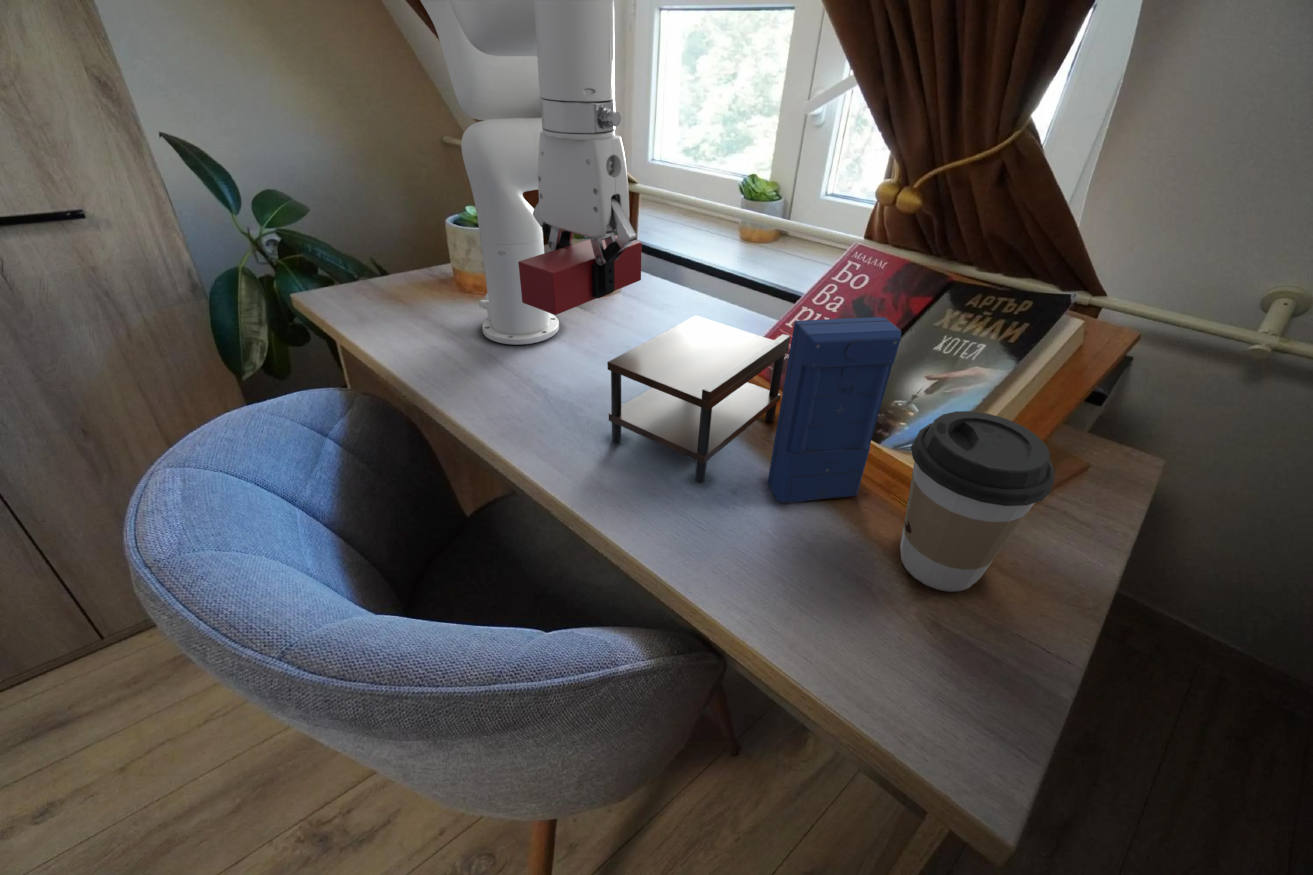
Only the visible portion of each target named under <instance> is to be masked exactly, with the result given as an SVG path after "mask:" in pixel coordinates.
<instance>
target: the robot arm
mask: <svg viewBox="0 0 1313 875" xmlns="http://www.w3.org/2000/svg"><path fill="white" fill-rule="evenodd" d="M419 1H420V3H421V5H422V6H423V8H424V9H425V11H426V12H427V15H428V16H429V18H430V20H431V22H432V24H433V27H434V28H435V32H436V34H437V37H438V41H439V44H440V47H441V51H442V56H443V58H444V61H445V65H446V69H447V73H448V77H449V79H450V82H451V86H452V89H453V92H454V94H455V98H456V100H457V103H458V105H459V107H460V109H461V110H462V111H463V113H464V114H465V115H466V116H468V118H471V119H474V120H479V121H477V122H475V123H473V124H470V126H468V127H467V128H466V130H465V131H464V132H463V134H462V137H461V142H460V143H461V144H460V149H461V154H462V160H463V165H464V168H465V171H466V174H467V178H468V181H469V185H470V189H471V193H472V197H473V202H474V207H475V212H476V218H477V219H476V220H477V226H478V232H479V240H480V247H481V254H482V264H483V271H484V277H485V284H486V291H487V293H486V294H485V296H484V299H481V300H480V301H479V302H478V305H479V307H480V308H482V309H484V310H486V312H487V317H486V319H485V320H484V321H483V323H482V328H481V329H482V333H483V335H484V336H485V337H486V338H487V339H489V340H490V341H493V342H496V343H498V344H504V345H515V346H519V345H521V346H522V345H532V344H535V343H540V342H543V341H547V340H548V339H550V338H552V337H553V336H555V335H556V334H557V333H558V332H559V330H560V322H559V319H558V318H557V317H556V315H554V314H551V313H548V312H546V311H543V310H540V309H538V308H535V307H532V306H530V305H527V304H524V303H522V294H521V284H520V274H519V264H518V262H519V261H522V260H525V259H528V258H531V257H535V256H538V255H541V254H544V253H545V244H544V236H545V237H546V239H547V241H548V248H549V250H550V252H551V251H554V250H557V249H560V248H563V247H567V246H570V245H573V240H574V235H575V234H576V235H580V236H584V237H588V238H589V239H590V240H591V244H592V248H593V252H594V256H595V260H596V263H594V264H592V285H593V296H594V297H595V298H596V299H601V298H603V297H606V296H608V295H610V294H611V295H612V294H613V293H614V292H615V291H614V290H615V276H614V261H615V260H618V259H619V256H620V255H621V254H622V253H623V252H624V251H625V250H626V248H627V247H628V246H630V245H631V244H632V243H633V242H634V241H637V239H638V235H637V232H636V231H635V228H634V227H633V225H632V224H631V222H630V194H629V192H630V191H629V180H628V178H629V177H628V170H627V162H626V154H625V149H624V143H623V140H622V136H621V135H617V134H616V127H618V126H620V123H621V120H622V118H621V117H622V116H621V114H620V112H619V111H617V110H616V101H615V100H616V99H615V98H616V94H615V92H616V85H615V84H616V83H615V82H616V79H615V78H616V76H615V74H616V72H615V70H616V69H615V67H616V66H615V0H419ZM537 190H538V191H537ZM531 191H537V192H538V202H537V204H535V207H533V206H532V205H531V204H530V203H529V202H528V201H527V200H526V199H525V197H524V193H525V192H531ZM615 232H616V233H617V236H618V237H617V238H615V235H616V234H615ZM603 239H605V243H606V248H605V249H604V247H603V243H602V240H603Z"/></svg>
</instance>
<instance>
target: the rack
mask: <svg viewBox="0 0 1313 875" xmlns="http://www.w3.org/2000/svg"><path fill="white" fill-rule="evenodd" d="M790 342H791V336H790V335H788V334H784V333H782V334H781V335H780V336H779V337H777V338H776V339H772V338H767V337H765V336H761V335H758V334H755V333H752V332H749V331H746V330H743V329H740V328H737V327H734V326H730V325H727V324H723V323H721V322H717V321H714V320H711V319H708V318H704V317H702V316H699V315H694V316H692V317H690V318H688V319H686V320H685V321H683V322H682V321H681V323H679V324H676V325H675V326H673V327H671V328H669V329H667V330H665V331H663V332H662V333H660V334H658V335H656V336H654V337H651V338H650V339H649V340H647V341H645V342H643V343H641V344H639V345H637V346H635V347H633V348H632V349H629V350H627V351H626V352H624V353H622V354H620V355H618V356H616V357H614V358H612V359H610V360H608V361H607V370H608V371H610V406H611V407H610V408H611V409H610V410H611V411H610V412H609V413H608V421H609V422H611V441H612V443H615V444H618V443H621V442H622V428H624V429H626V430H628V431H631V432H632V433H635V434H637V435H639V436H641V437H644V438H646V439H648V440H650V441H652V442H654V443H656V444H659V445H662V446H664V447H665V448H667V449H670V450H672V451H674V452H677V453H679V454H681V455H683V456H685V457H688V458H689V459H692V460H693V461H695V471H694V472H695V474H694V481H695V482H696V483H698V484H703V483H705V481H706V477H707V467H708V461H709V460H710V459H712V458H713V457H714V456H716V454H717V453H719V452H720V451H721V450H723V449H724V448H725V447H726V446H727V445H728V444H730V443H731V442H732V441H733V440H734V439H736V438H737V437H738V436H739V435H740V434H741V433H743V432H744V431H745V430H746V429H748V428H749V427H750V426H751V425H752V424H754V423H755V422H756V421H757V420H759V418H761V417H762V416H763V415H765V416H764V421H765V422H766V423H769V424H771V423H774V422H775V417H776V413H777V412H776V411H777V405H778V403H779V402H781V397H782V394H781V393H779V392H780V387H781V381H782V376H783V375H782V374H783V369H784V363H785V356H786V354H788V353H789V349H790ZM771 365H773V366H772V372H771V378H770V385H769V389H767V388H765V387H762V386H760V385H756V384H755V383H754V384H753V383H751V382H749V381H751V380H752V379H754V378H756V376H758V375H759V374H760V373H762V372H763V371H764V370H766V369H768V368H769V367H770V366H771ZM622 376H623V377H625V378H628V379H630V380H632V381H635V382H637V383H640V384H641V385H645V386H646V387H650V388H648V389H646V390H645V391H643V392H641V393H640V394H638V395H637V396H635V397H633V398H631V399H630V400H628V401H627V402H625V403H623V404H622Z"/></svg>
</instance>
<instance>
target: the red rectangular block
mask: <svg viewBox="0 0 1313 875" xmlns="http://www.w3.org/2000/svg"><path fill="white" fill-rule="evenodd" d="M617 237H618V234H617V235H616V234H615V238H617ZM602 243H603V247H604V249H605V248H606V243H605V239H603V240H602ZM642 245H643V243H642V241H639V240H635V241H634V242H633V243H632V244H631V245H630V246H628V247H627V248H626V250H625V251H624V252H623V253H622V254H621V255H620V256H619V259H618V260H615V261H614V276H615V290H614V292H616V291H618V290H620V289H622V288H625V287H627V286H630V285H633V284H636V283H638V282H640V281H642V253H643V252H642V248H643V246H642ZM594 263H596V260H595V256H594V252H593V248H592V244H591V240H590V238H589V239H587V240H583V241H579V242H577V243H574V244H573V243H572V244H571V245H570V246H567V247H563V248H560V249H557V250H554V251H551V250H550V251H547V252H544V254H541V255H538V256H535V257H531V258H528V259H525V260H522V261H519V262H518V264H519V274H520V284H521V294H522V303H524V304H527V305H530V306H532V307H535V308H538V309H540V310H543V311H546V312H548V313H550V314H552V315H554V316H557V315H559V314H562V313H565V312H567V311H569V310H572V309H573V308H577V307H579V306H581V305H584V304H587V303H589V302H591V301H593V300H596V299H597V298H595V297H594V296H593V285H592V264H594Z"/></svg>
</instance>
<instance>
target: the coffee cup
mask: <svg viewBox="0 0 1313 875" xmlns="http://www.w3.org/2000/svg"><path fill="white" fill-rule="evenodd" d="M910 450H911V455H912V460H913V462H914V463H913V468H912V473H911V480H910V486H909V490H908V491H909V492H908V498H907V502H906V503H907V504H906V510H905V517H904V522H903V526H902V532H901V539H900V546H899V547H900V548H899V549H900V558H901V564H902V565H903V566H904V569H905V570H906V571H907V572H908V574H910V575H911V576H912V578H914V579H916V580H917V581H918V582H920V583H922V584H923V585H925V586H927V587H930V588H933V589H935V590H938V591H944V592H949V593H951V592H952V593H953V592H962V591H965V590H967V589H970V588H971V587H972V586H974V584H976V583H977V582H978V581H979V580H980V579H981V578H982V576H983V575H984V574H985V572H986V571H987V570H988V568H989V567H990V565H991V564H992V563H993V562H994V560H995V558H996V557H998V554H999V553H1000V552H1001V550H1002V549H1003V547H1004V546H1005V545H1006V543H1007V542H1008V541H1009V539H1010V538H1011V536H1012V535H1013V534H1014V532H1016V530H1017V528H1018V527H1019V525H1020V524H1021V523H1022V522H1023V520H1024V518H1025V517H1026V516H1027V515H1028V513H1029V512H1030V510H1031V509H1032V507H1034V505H1035V504H1036V503H1038V502H1042V501H1044V500H1045V499H1046V498H1047V497H1048V496H1049V495H1050V494H1051V493H1052V489H1053V484H1054V483H1055V473H1056V470H1055V468H1054V466H1053V464H1052V462H1051V460H1050V459H1051V452H1050V451H1049V449H1048V447H1047V444H1046V443H1045V442H1044V441H1043V440H1042V439H1041V438H1040V437H1039V436H1038V435H1036V433H1034V432H1033V431H1031V430H1030V429H1028V428H1027V427H1025V426H1023V425H1021V424H1020V423H1017V422H1015V421H1013V420H1011V419H1008V418H1005V417H1003V416H1002V417H1001V416H998V415H994V414H991V413H988V412H979V411H973V410H963V411H962V410H959V411H958V410H957V411H952V412H948V413H943V414H942V415H941V414H940V415H939V416H938V417H936V418H934V420H933V421H932V422H930V423H929V424H927V425H926V426H923V427H922V428H921V429H920V430H919V431H918V433H917V435H916V437H915V438H914V440H913V442H912V444H911V446H910Z"/></svg>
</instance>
